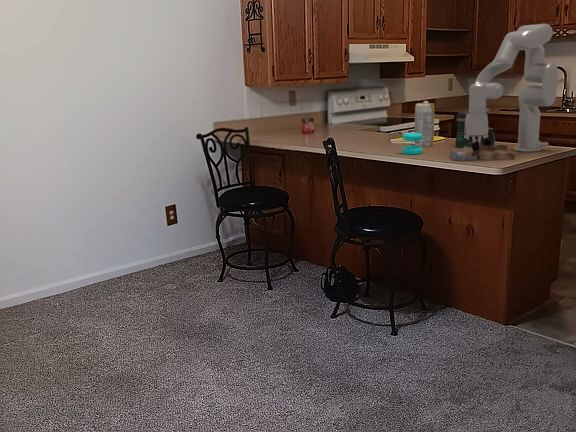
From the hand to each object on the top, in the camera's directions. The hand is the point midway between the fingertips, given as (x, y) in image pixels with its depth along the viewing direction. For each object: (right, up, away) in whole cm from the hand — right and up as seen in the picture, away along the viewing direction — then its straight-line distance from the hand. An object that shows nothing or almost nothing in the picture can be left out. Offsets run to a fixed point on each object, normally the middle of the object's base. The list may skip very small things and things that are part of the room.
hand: (475, 150), depth 275 cm
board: (+8, -3, +1) cm, 9 cm away
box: (-5, -4, +1) cm, 7 cm away
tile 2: (-2, -1, +1) cm, 2 cm away
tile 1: (-7, -1, 0) cm, 8 cm away
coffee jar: (+6, +6, +38) cm, 39 cm away
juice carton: (-13, +8, +47) cm, 49 cm away
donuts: (-25, +1, +22) cm, 33 cm away
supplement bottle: (+11, +1, +16) cm, 19 cm away
